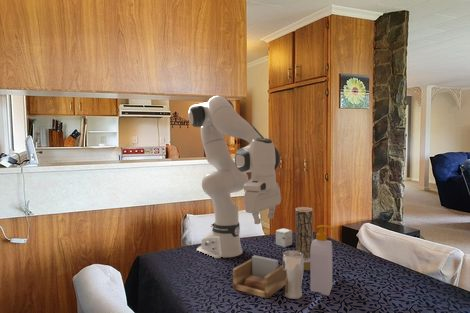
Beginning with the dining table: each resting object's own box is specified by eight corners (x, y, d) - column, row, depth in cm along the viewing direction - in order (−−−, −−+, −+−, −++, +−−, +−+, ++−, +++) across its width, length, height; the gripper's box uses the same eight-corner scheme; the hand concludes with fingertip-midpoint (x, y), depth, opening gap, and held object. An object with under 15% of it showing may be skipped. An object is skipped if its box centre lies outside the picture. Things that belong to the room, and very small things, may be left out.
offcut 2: (243, 287, 123) (243, 282, 123) (249, 283, 126) (249, 278, 126) (265, 293, 118) (265, 288, 117) (271, 288, 121) (271, 284, 121)
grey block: (252, 280, 128) (251, 256, 128) (254, 278, 130) (254, 255, 129) (276, 286, 123) (275, 261, 122) (278, 284, 124) (278, 260, 124)
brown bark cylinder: (313, 273, 136) (312, 210, 135) (295, 272, 138) (295, 210, 136) (313, 266, 143) (312, 207, 142) (296, 265, 144) (295, 206, 143)
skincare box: (275, 244, 174) (275, 230, 173) (283, 242, 178) (283, 227, 177) (285, 247, 169) (284, 232, 169) (292, 244, 173) (292, 230, 173)
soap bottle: (331, 296, 116) (330, 229, 115) (310, 293, 119) (309, 228, 118) (334, 286, 124) (334, 223, 123) (315, 283, 127) (314, 221, 126)
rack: (233, 291, 122) (232, 269, 121) (254, 277, 133) (253, 257, 133) (267, 301, 114) (267, 277, 113) (286, 286, 125) (286, 264, 125)
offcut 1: (245, 283, 122) (245, 279, 122) (250, 279, 125) (250, 275, 125) (266, 288, 118) (266, 283, 117) (271, 284, 121) (271, 279, 121)
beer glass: (281, 293, 119) (280, 250, 119) (300, 292, 120) (300, 249, 119) (285, 302, 112) (285, 257, 112) (306, 301, 113) (306, 256, 112)
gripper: (270, 179, 135) (270, 214, 135) (240, 185, 118) (241, 225, 119) (284, 180, 131) (285, 216, 132) (256, 187, 114) (257, 228, 115)
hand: (264, 220), depth 125 cm, fingers open, 8 cm apart
